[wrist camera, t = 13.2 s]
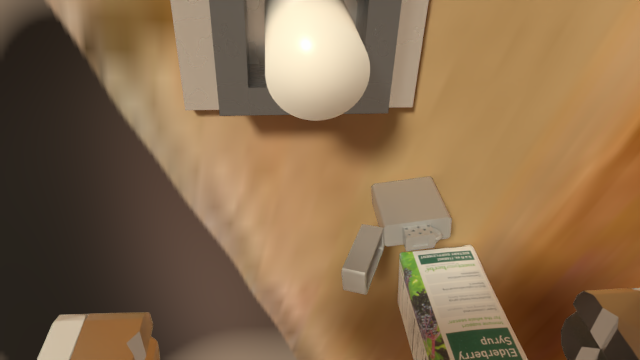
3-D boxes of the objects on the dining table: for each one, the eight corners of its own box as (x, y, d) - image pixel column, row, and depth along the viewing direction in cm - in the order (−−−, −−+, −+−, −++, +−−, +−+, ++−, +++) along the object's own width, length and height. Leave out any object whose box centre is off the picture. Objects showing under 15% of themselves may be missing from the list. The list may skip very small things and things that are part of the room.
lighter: (432, 176, 34) (472, 260, 27) (431, 196, 35) (470, 282, 28) (327, 190, 34) (342, 278, 27) (329, 210, 35) (344, 299, 28)
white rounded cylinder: (345, -31, 25) (374, 21, 18) (341, 48, 27) (365, 119, 20) (263, -32, 24) (263, 21, 18) (265, 48, 27) (266, 121, 20)
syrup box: (473, 242, 38) (569, 433, 26) (465, 295, 41) (546, 486, 29) (398, 250, 37) (460, 446, 26) (395, 303, 41) (449, 498, 29)
